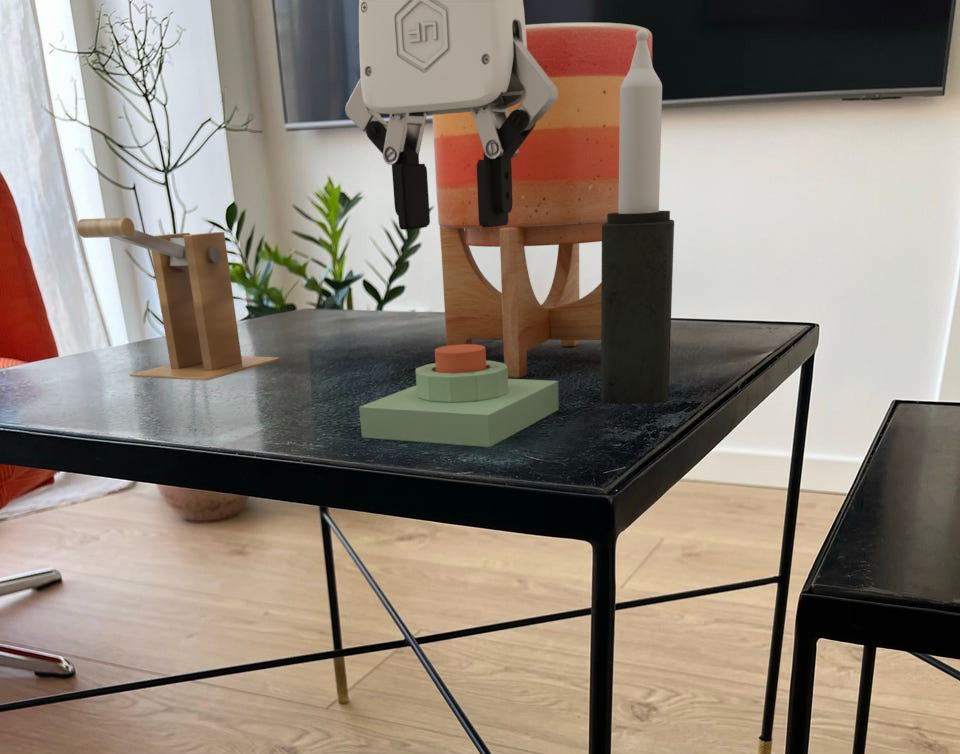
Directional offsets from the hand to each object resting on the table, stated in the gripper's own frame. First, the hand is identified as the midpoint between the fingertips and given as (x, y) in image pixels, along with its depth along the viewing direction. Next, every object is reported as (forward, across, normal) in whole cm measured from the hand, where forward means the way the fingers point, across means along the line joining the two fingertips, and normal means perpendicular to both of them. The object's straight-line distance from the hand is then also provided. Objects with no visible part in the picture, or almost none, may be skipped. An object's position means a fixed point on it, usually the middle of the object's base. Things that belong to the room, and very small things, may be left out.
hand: (453, 224), depth 68 cm
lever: (+2, -33, +6) cm, 34 cm away
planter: (+14, -5, +27) cm, 31 cm away
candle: (+14, +9, +12) cm, 20 cm away
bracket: (+13, -33, +11) cm, 37 cm away
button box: (+13, 0, 0) cm, 13 cm away
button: (+10, 0, 0) cm, 10 cm away
